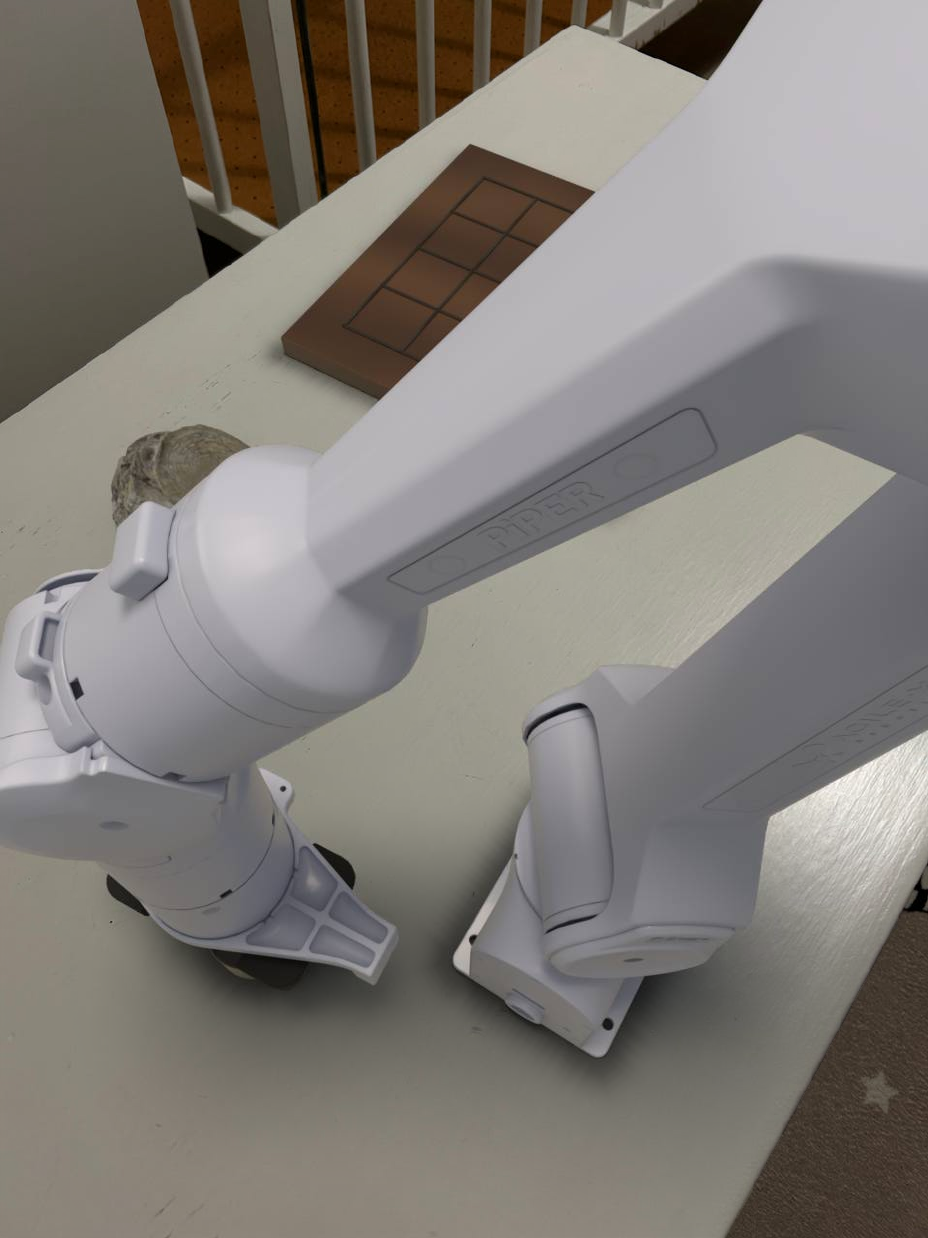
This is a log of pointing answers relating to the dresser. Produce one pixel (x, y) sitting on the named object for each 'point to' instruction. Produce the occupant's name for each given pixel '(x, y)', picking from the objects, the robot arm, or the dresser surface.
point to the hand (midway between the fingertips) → (261, 917)
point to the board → (431, 269)
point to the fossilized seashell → (168, 466)
